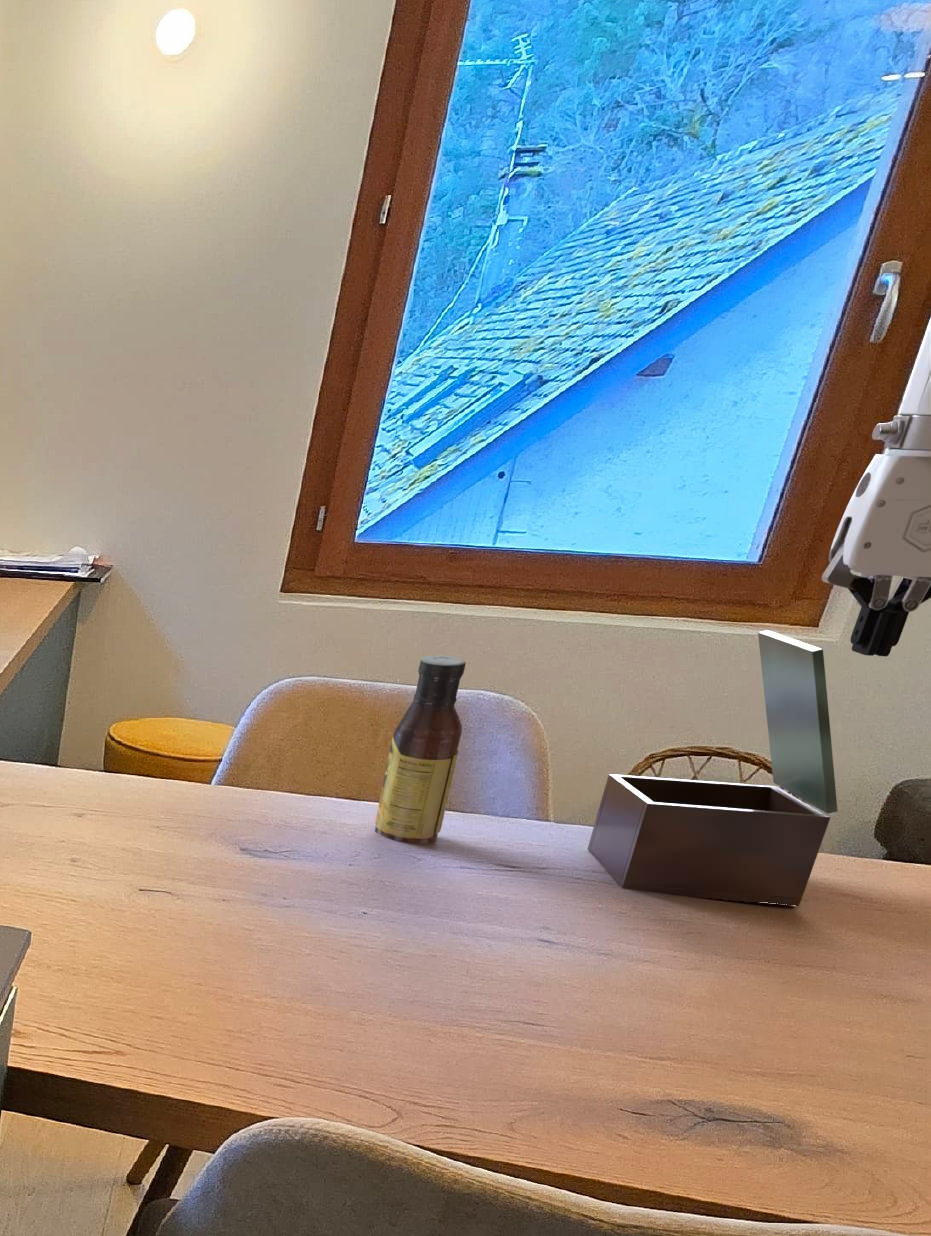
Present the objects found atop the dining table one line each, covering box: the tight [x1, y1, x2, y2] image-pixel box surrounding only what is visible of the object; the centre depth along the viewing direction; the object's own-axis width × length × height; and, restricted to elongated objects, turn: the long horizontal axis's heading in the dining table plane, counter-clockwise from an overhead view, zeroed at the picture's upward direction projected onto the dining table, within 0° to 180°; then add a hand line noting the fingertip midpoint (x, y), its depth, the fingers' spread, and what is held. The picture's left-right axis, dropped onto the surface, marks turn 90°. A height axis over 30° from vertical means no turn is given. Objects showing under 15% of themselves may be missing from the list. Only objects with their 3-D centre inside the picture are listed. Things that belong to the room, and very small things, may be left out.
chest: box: [587, 773, 831, 907], centre depth 133 cm, size 15×12×9 cm
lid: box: [757, 629, 838, 815], centre depth 127 cm, size 15×12×1 cm
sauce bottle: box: [374, 655, 466, 845], centre depth 141 cm, size 7×6×20 cm
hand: (869, 653), depth 124 cm, fingers closed
